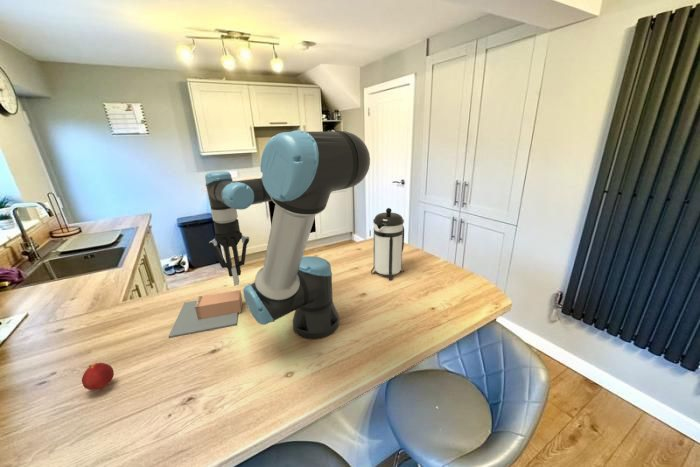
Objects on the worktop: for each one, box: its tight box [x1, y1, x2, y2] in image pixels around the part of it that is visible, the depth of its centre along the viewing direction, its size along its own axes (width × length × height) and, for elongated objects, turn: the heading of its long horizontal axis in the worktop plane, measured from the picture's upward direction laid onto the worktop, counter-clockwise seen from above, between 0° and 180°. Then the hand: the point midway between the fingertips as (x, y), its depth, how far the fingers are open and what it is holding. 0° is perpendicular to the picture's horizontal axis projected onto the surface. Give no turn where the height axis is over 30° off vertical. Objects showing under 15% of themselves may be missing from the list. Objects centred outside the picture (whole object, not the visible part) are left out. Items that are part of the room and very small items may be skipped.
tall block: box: [195, 289, 243, 320], centre depth 100 cm, size 7×5×14 cm
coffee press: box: [370, 207, 405, 281], centre depth 122 cm, size 17×16×30 cm
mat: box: [168, 300, 239, 339], centre depth 100 cm, size 20×20×1 cm
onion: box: [81, 362, 115, 391], centre depth 69 cm, size 6×6×8 cm
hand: (236, 283), depth 99 cm, fingers closed
